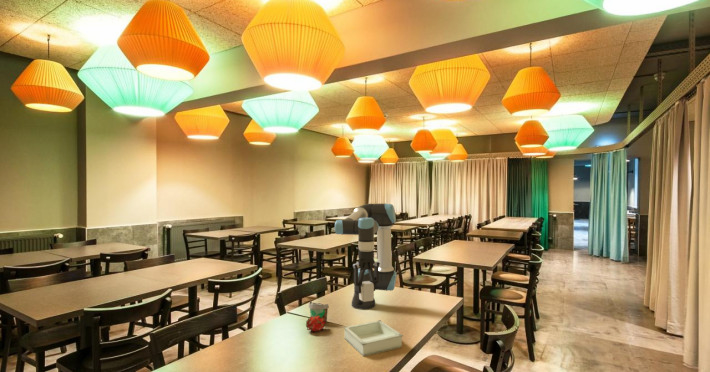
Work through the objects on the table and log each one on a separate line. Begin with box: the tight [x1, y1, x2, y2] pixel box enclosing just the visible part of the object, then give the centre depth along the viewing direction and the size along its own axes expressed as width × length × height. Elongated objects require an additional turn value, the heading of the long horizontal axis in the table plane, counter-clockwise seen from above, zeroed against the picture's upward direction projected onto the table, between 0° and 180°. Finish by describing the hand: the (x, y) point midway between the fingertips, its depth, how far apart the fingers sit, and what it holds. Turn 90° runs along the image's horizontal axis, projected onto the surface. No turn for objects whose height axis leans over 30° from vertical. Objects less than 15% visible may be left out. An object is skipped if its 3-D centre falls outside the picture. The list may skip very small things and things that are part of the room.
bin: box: [343, 320, 404, 357], centre depth 163 cm, size 21×21×6 cm
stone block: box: [362, 281, 373, 302], centre depth 164 cm, size 5×5×8 cm
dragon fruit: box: [305, 316, 327, 333], centre depth 178 cm, size 8×8×12 cm
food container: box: [308, 300, 329, 323], centre depth 190 cm, size 12×6×10 cm, turn 62°
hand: (366, 298), depth 164 cm, fingers closed on stone block, 5 cm apart
